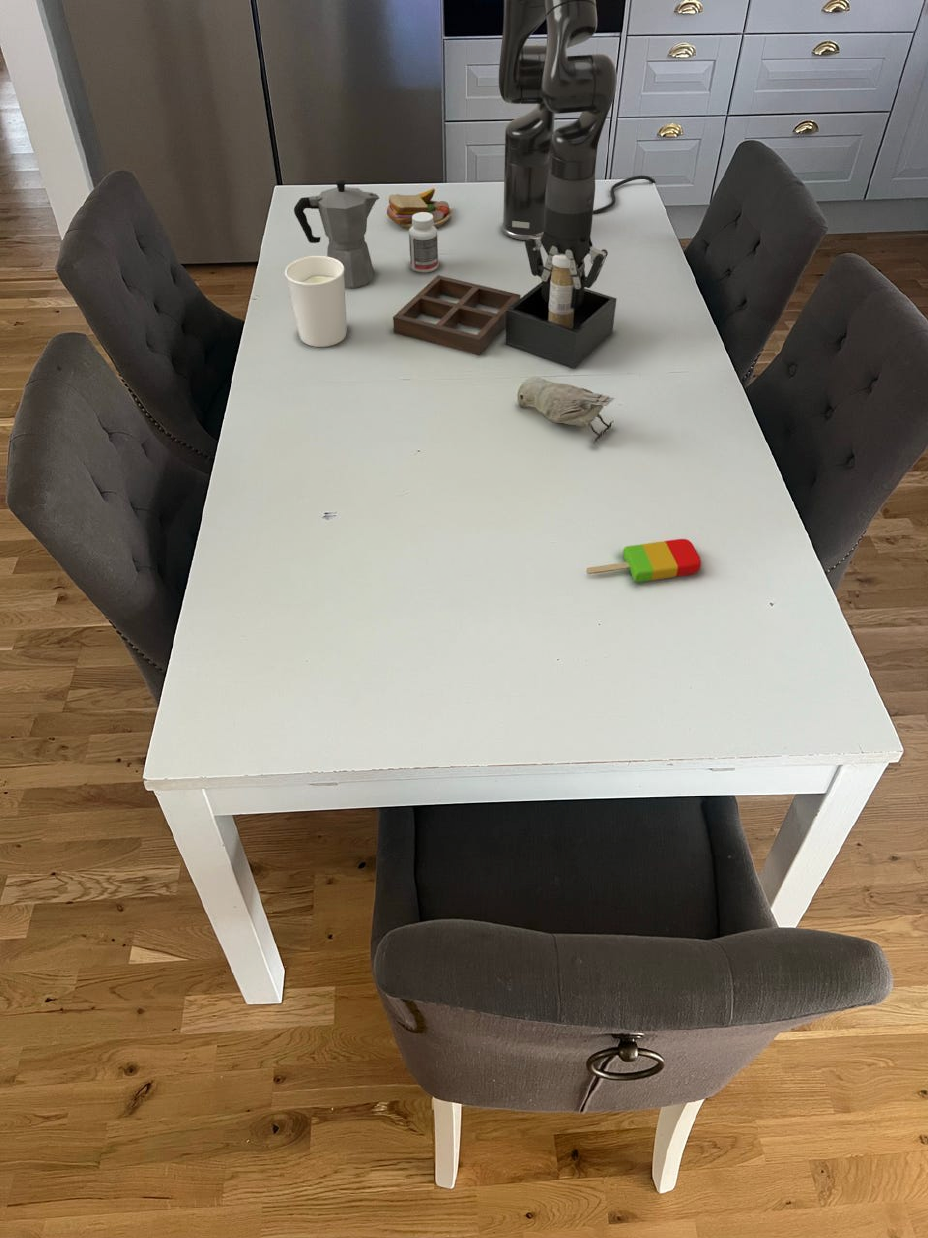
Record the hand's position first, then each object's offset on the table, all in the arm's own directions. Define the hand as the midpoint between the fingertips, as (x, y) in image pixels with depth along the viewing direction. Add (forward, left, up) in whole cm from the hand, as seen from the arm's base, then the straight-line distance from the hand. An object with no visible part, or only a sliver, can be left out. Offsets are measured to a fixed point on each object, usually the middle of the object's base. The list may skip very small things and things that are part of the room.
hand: (561, 302), depth 155 cm
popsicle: (+43, +38, -7) cm, 58 cm away
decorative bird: (+21, +13, -7) cm, 26 cm away
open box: (0, 0, -7) cm, 7 cm away
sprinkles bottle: (0, 0, -4) cm, 4 cm away
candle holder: (+22, -35, -7) cm, 42 cm away
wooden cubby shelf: (+5, -18, -7) cm, 20 cm away
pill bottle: (-8, -35, -7) cm, 36 cm away
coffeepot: (+4, -45, -7) cm, 46 cm away
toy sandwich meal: (-24, -48, -7) cm, 54 cm away
